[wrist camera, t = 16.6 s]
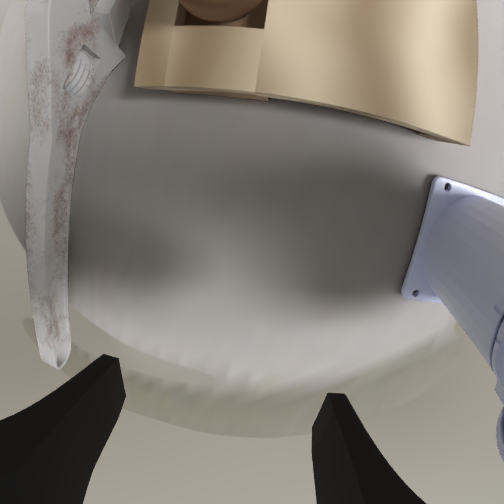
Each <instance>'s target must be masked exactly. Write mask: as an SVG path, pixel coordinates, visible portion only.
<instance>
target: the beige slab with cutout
mask: <svg viewBox="0 0 504 504" xmlns="http://www.w3.org/2000/svg"><path fill="white" fill-rule="evenodd" d="M477 75H478V18H477V3H476V0H262V1H261V3H260V4H259V5H258V6H257V7H256V8H255V9H253V10H252V11H251V12H250V13H249V14H248V15H247V16H245V17H244V18H242V19H240V20H238V21H234V22H220V21H207V20H203V19H200V18H197V17H195V16H194V15H192V14H190V13H189V12H188V11H187V10H186V9H185V8H184V6H183V5H182V4H181V3H180V2H179V1H178V0H150V1H149V5H148V9H147V14H146V19H145V23H144V28H143V33H142V39H141V44H140V50H139V56H138V62H137V68H136V75H135V82H134V87H138V88H142V89H146V90H168V91H171V92H174V93H177V94H199V95H214V96H227V97H237V98H247V99H256V100H264V101H269V97H270V98H277V99H284V100H290V101H296V102H302V103H308V104H313V105H319V106H324V107H329V108H334V109H338V110H343V111H347V112H352V113H356V114H360V115H364V116H368V117H372V118H376V119H380V120H383V121H387V122H391V123H394V124H398V125H401V126H404V127H408V128H411V129H414V130H417V134H418V135H421V136H424V137H427V138H430V139H433V140H436V141H441V142H448V143H454V144H460V145H466V146H470V142H471V135H472V128H473V120H474V112H475V102H476V91H477Z"/></svg>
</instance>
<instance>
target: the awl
mask: <svg viewBox="0 0 504 504" xmlns="http://www.w3.org/2000/svg"><path fill="white" fill-rule="evenodd" d="M178 1H179V2H180V3H181V4H182V5H183V6H184V8H185V9H186V10H187V11H188V12H189V13H190V14H192V15H194V16H195V17H197V18H200V19H203V20H207V21H220V22H234V21H238V20H240V19H242V18H244V17H245V16H247V15H248V14H249V13H250V12H251V11H252V10H253V9H255V8H256V7H257V6H258V5H259V4H260V3H261V1H262V0H178Z"/></svg>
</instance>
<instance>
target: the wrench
mask: <svg viewBox="0 0 504 504" xmlns="http://www.w3.org/2000/svg"><path fill="white" fill-rule="evenodd" d="M132 1H133V0H99V1H98V2H97V4H96V5H95V8H94V10H93V13H90V6H89V0H27V3H26V7H25V30H26V55H27V68H28V96H29V117H30V130H31V137H30V145H29V154H28V165H27V179H26V205H25V229H26V255H27V269H28V279H29V289H30V298H31V305H32V312H33V319H34V325H35V331H36V336H37V341H38V346H39V351H40V356H41V359H42V360H43V361H44V362H46V363H48V364H49V365H51V366H53V367H54V368H56V369H61V368H62V367H63V366H64V365H65V363H66V362H67V360H68V358H69V355H70V352H71V335H70V321H69V306H68V238H69V219H70V206H71V195H72V185H73V177H74V170H75V164H76V158H77V152H78V146H79V141H80V136H81V131H82V128H83V126H84V123H85V120H86V118H87V115H88V113H89V110H90V108H91V105H92V103H93V101H94V99H95V98H96V96H97V94H98V92H99V91H100V89H101V87H102V85H103V84H104V82H105V80H106V79H107V77H108V75H109V74H110V73H111V71H112V70H113V69H114V68H115V67H116V66H117V65H118V64H119V63H120V62H121V61H122V60H123V59H125V57H126V55H125V54H124V53H123V51H122V50H121V49H120V48H119V47H118V46H119V43H120V40H121V38H122V35H123V32H124V29H125V26H126V24H127V21H128V17H129V13H130V9H131V5H132Z"/></svg>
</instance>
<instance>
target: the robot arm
mask: <svg viewBox="0 0 504 504" xmlns="http://www.w3.org/2000/svg"><path fill="white" fill-rule="evenodd" d="M446 183H448V188H447V189H446V190H445V189H444V186H445V184H446ZM415 290H417V292H416V293H415V294H412V293H413V291H415ZM401 294H402V296H403V297H404V298H405V299H411V300H420V301H429V302H438V303H443V304H444V305H445V306H446V308H447V309H448V310H449V311H450V313H451V314H452V315H453V317H454V318H455V319H456V320H457V322H458V323H459V324H460V326H461V327H462V328H463V330H464V331H465V332H466V334H467V335H468V336H469V338H470V339H471V341H472V342H473V343H474V344H475V346H476V347H477V349H478V350H479V351H480V353H481V354H482V356H483V357H484V359H485V360H486V362H487V363H488V365H489V366H490V368H491V369H492V371H493V372H494V373H495V375H496V377H497V384H496V387H495V391H496V393H497V395H498V396H499V398H500V400H501V401H502V403H503V404H504V198H502V197H500V196H497V195H494V194H492V193H489V192H486V191H484V190H481V189H478V188H475V187H472V186H469V185H467V184H464V183H461V182H458V181H454V180H451V179H448V178H445V177H442V176H436V177H435V178H434V179H433V181H432V184H431V189H430V193H429V197H428V202H427V206H426V210H425V214H424V217H423V221H422V225H421V228H420V232H419V236H418V239H417V242H416V246H415V249H414V252H413V256H412V259H411V262H410V265H409V268H408V271H407V274H406V277H405V280H404V283H403V286H402V289H401ZM125 397H126V394H125V389H124V384H123V379H122V374H121V369H120V363H119V358H116V357H112V356H109V355H105V354H103V355H102V356H100V357H99V358H98V359H96V360H95V361H94V362H92V363H91V364H90V365H88V366H87V367H86V368H84V369H83V370H82V371H81V372H79V373H78V374H77V375H75V376H74V377H73V378H71V379H70V380H69V381H67V382H66V383H64V384H63V385H62V386H60V387H59V388H58V389H56V390H55V391H53V392H52V393H50V394H49V395H47V396H46V397H44V398H43V399H41V400H40V401H38V402H36V403H35V404H33V405H32V406H30V407H28V408H26V409H24V410H22V411H20V412H18V413H16V414H14V415H12V416H10V417H7V418H5V419H2V420H0V504H83V501H84V497H85V494H86V490H87V487H88V484H89V481H90V478H91V475H92V472H93V469H94V467H95V465H96V462H97V460H98V458H99V456H100V454H101V452H102V450H103V448H104V446H105V444H106V442H107V440H108V438H109V436H110V434H111V432H112V430H113V428H114V426H115V424H116V422H117V420H118V417H119V414H120V412H121V409H122V406H123V403H124V400H125ZM496 438H497V446H498V449H499V452H500V455H501V457H502V459H503V461H504V407H503V408H502V410H501V412H500V415H499V418H498V422H497V427H496ZM312 461H313V471H314V480H315V490H316V500H317V504H426V503H425V502H424V501H423V500H422V499H421V498H419V497H418V496H417V495H416V494H415V493H414V492H413V491H412V490H411V489H410V488H409V487H408V486H407V485H406V484H405V483H404V481H403V480H402V479H401V478H400V477H399V476H398V475H397V473H396V472H395V471H394V470H393V468H392V467H391V466H390V465H389V463H388V462H387V460H386V459H385V458H384V457H383V455H382V454H381V452H380V451H379V449H378V448H377V446H376V445H375V443H374V442H373V440H372V439H371V437H370V436H369V434H368V433H367V431H366V429H365V428H364V426H363V424H362V423H361V421H360V419H359V417H358V416H357V414H356V412H355V410H354V409H353V407H352V405H351V403H350V402H349V400H348V398H347V396H346V395H345V394H341V393H327V396H326V398H325V400H324V402H323V405H322V407H321V409H320V411H319V413H318V416H317V418H316V420H315V422H314V424H313V426H312Z"/></svg>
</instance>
